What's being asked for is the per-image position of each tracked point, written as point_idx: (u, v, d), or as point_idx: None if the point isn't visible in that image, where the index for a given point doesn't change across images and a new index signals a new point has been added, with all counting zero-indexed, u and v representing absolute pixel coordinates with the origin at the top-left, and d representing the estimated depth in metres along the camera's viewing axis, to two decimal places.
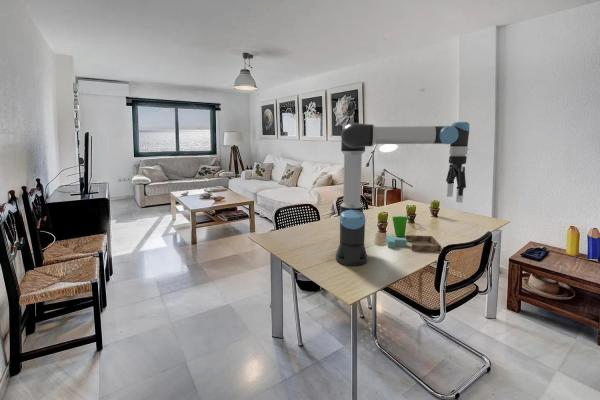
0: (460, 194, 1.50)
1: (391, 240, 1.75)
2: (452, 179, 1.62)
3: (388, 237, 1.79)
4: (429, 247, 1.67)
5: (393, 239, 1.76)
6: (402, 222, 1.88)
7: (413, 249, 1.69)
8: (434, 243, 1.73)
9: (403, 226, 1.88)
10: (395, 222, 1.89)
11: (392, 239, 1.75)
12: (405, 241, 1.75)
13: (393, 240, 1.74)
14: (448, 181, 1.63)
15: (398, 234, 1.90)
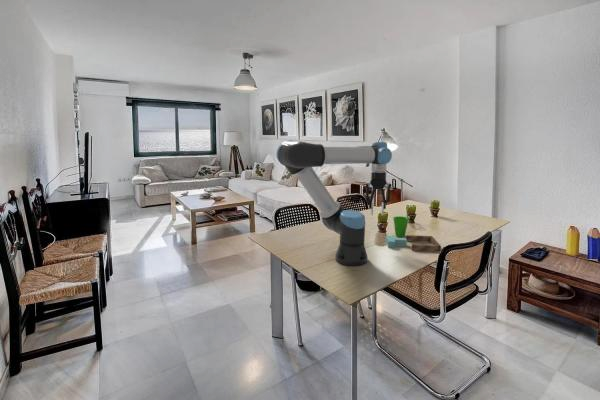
0: (369, 207, 1.75)
1: (391, 240, 1.75)
2: (382, 197, 1.73)
3: (388, 237, 1.79)
4: (429, 247, 1.67)
5: (393, 239, 1.76)
6: (403, 224, 1.87)
7: (413, 249, 1.69)
8: (434, 243, 1.73)
9: (404, 228, 1.88)
10: (396, 223, 1.88)
11: (392, 239, 1.75)
12: (405, 241, 1.75)
13: (393, 240, 1.74)
14: None
15: (398, 235, 1.90)
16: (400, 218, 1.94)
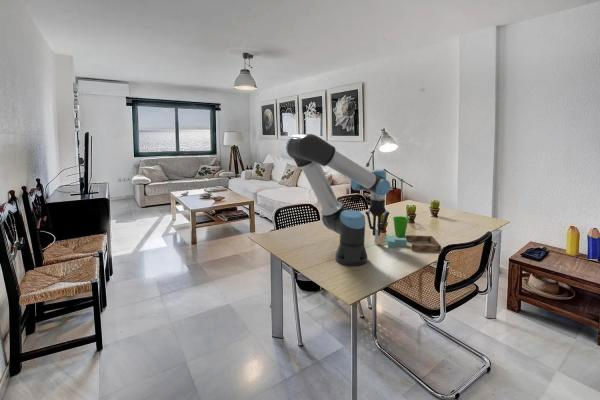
0: None
1: (391, 240, 1.75)
2: (378, 223, 1.76)
3: (388, 237, 1.79)
4: (429, 247, 1.67)
5: (393, 239, 1.76)
6: (403, 224, 1.87)
7: (413, 249, 1.69)
8: (434, 243, 1.73)
9: (404, 228, 1.88)
10: (396, 223, 1.88)
11: (392, 239, 1.75)
12: (405, 241, 1.75)
13: (393, 240, 1.74)
14: None
15: (398, 235, 1.90)
16: (400, 218, 1.94)
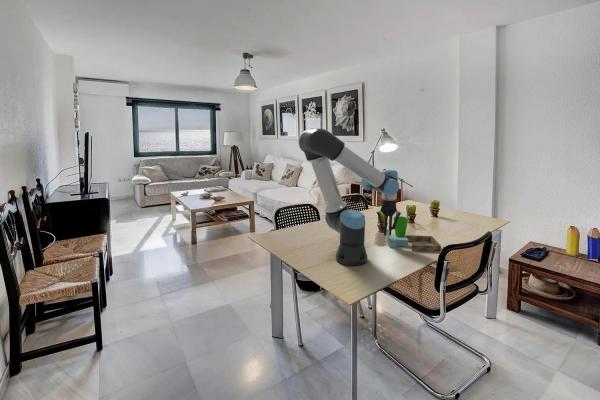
0: (384, 234, 1.77)
1: (392, 240, 1.75)
2: (389, 223, 1.75)
3: (389, 237, 1.79)
4: (429, 247, 1.67)
5: (394, 239, 1.76)
6: (403, 224, 1.87)
7: (413, 249, 1.69)
8: (434, 243, 1.73)
9: (404, 228, 1.88)
10: (396, 224, 1.88)
11: (393, 239, 1.75)
12: (406, 241, 1.75)
13: (394, 240, 1.74)
14: None
15: (398, 235, 1.89)
16: (400, 218, 1.93)
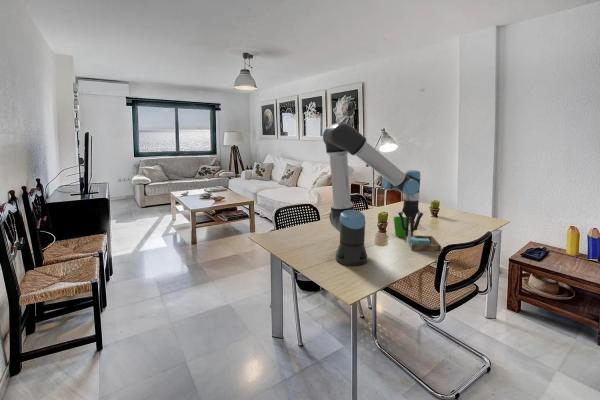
0: (405, 235, 1.76)
1: (414, 240, 1.73)
2: (411, 224, 1.74)
3: (411, 238, 1.78)
4: (429, 247, 1.67)
5: (416, 240, 1.74)
6: None
7: (413, 249, 1.69)
8: (434, 243, 1.73)
9: None
10: (397, 223, 1.88)
11: (415, 240, 1.74)
12: (428, 242, 1.73)
13: (416, 241, 1.73)
14: (410, 226, 1.76)
15: (399, 235, 1.89)
16: None
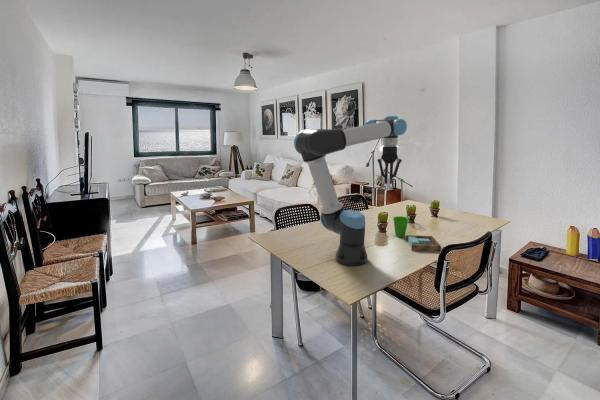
0: None
1: (414, 240, 1.73)
2: (390, 171, 1.75)
3: (411, 238, 1.78)
4: (429, 247, 1.67)
5: (416, 240, 1.74)
6: (403, 224, 1.86)
7: (413, 249, 1.69)
8: (434, 243, 1.73)
9: (404, 228, 1.88)
10: (396, 224, 1.88)
11: (415, 240, 1.74)
12: (429, 242, 1.73)
13: (417, 241, 1.73)
14: None
15: (399, 235, 1.89)
16: (399, 218, 1.93)
